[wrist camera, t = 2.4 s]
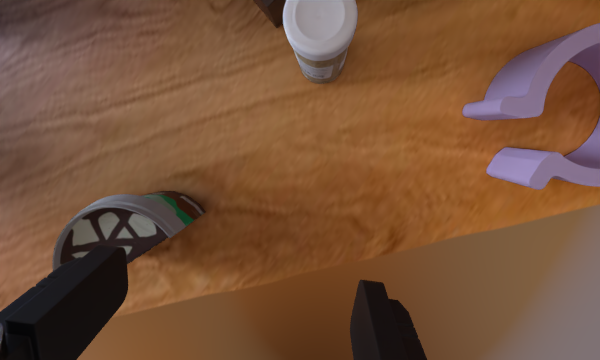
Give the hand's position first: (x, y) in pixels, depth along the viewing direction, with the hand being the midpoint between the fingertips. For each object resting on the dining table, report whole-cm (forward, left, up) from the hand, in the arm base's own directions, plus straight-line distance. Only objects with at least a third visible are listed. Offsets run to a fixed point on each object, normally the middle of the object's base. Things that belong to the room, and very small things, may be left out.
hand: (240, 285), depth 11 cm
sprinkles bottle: (-7, +10, -24) cm, 27 cm away
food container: (-7, -14, -24) cm, 29 cm away
